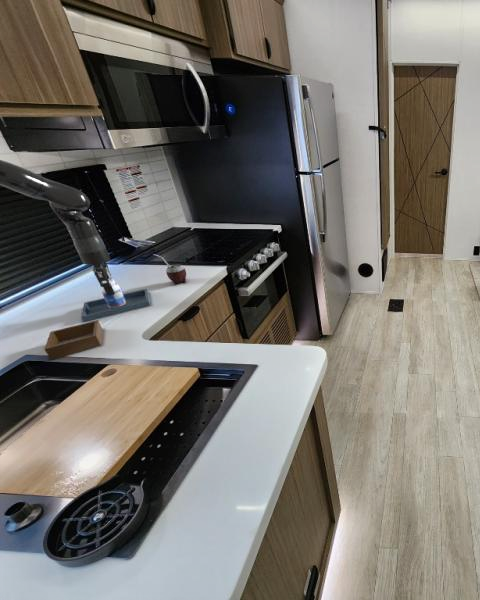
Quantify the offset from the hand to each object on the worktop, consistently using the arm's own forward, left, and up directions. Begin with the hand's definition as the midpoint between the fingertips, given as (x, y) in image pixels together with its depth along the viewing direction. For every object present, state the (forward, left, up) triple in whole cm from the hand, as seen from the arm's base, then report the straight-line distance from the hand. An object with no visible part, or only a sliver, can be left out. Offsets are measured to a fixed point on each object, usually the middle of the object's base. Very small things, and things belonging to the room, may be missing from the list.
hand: (111, 292), depth 123 cm
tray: (0, 0, -7) cm, 7 cm away
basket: (-10, -23, -7) cm, 26 cm away
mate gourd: (+21, +11, -7) cm, 25 cm away
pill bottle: (0, 0, -6) cm, 6 cm away
